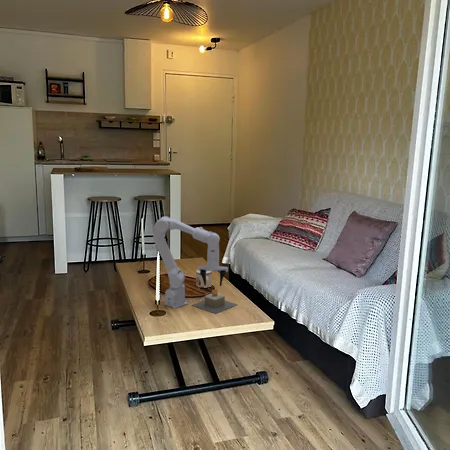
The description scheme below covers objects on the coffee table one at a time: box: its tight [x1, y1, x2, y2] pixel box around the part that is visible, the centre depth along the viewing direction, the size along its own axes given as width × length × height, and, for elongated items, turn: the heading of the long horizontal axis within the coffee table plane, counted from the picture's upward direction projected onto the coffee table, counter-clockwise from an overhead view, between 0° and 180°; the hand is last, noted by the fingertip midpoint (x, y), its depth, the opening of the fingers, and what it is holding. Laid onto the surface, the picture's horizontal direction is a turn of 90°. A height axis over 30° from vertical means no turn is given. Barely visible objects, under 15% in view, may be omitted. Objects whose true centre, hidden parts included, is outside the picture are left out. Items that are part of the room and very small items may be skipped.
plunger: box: [211, 289, 219, 297], centre depth 224 cm, size 5×5×6 cm
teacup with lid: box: [195, 269, 213, 288], centre depth 251 cm, size 12×9×12 cm
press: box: [191, 292, 238, 315], centre depth 224 cm, size 16×16×5 cm
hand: (212, 285), depth 223 cm, fingers open, 7 cm apart
